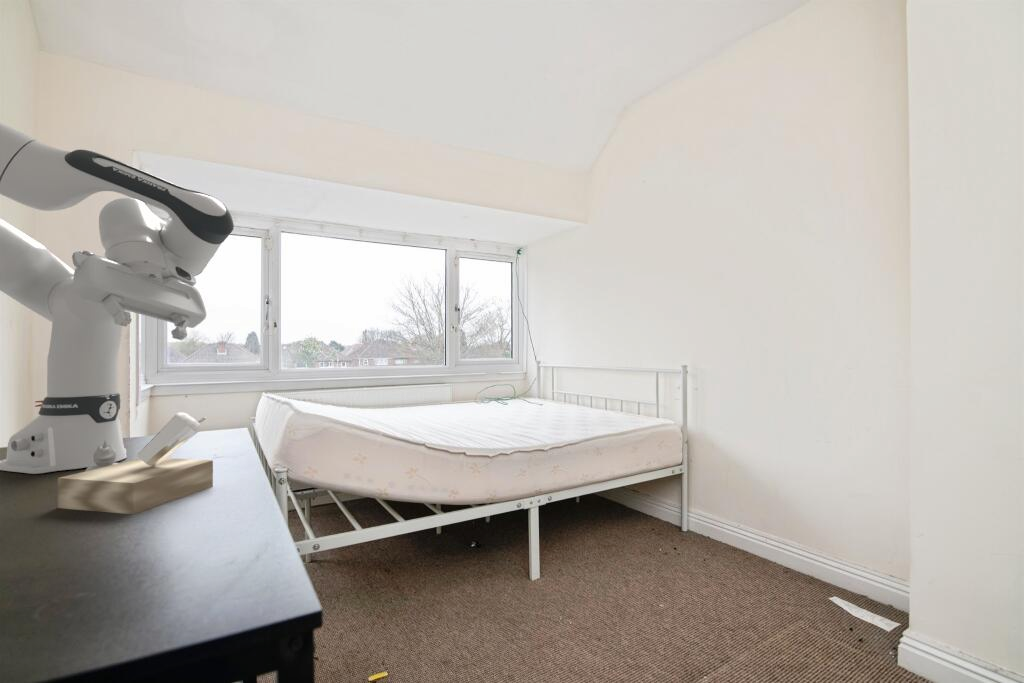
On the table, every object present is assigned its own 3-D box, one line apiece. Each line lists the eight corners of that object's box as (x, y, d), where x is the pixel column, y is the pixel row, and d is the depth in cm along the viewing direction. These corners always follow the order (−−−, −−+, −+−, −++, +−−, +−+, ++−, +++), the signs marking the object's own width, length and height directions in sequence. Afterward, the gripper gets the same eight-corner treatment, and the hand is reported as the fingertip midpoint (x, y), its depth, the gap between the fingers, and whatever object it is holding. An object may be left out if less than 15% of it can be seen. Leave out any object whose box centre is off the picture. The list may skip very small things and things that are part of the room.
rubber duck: (83, 492, 80) (83, 444, 80) (84, 483, 85) (85, 438, 85) (125, 485, 83) (125, 439, 84) (124, 478, 88) (124, 434, 89)
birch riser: (57, 511, 72) (57, 478, 72) (146, 484, 86) (146, 456, 86) (133, 517, 69) (133, 483, 69) (212, 489, 83) (212, 460, 83)
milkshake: (165, 472, 80) (214, 426, 84) (148, 467, 75) (201, 418, 79) (145, 455, 81) (196, 410, 85) (127, 449, 76) (182, 402, 80)
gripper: (84, 235, 76) (96, 301, 71) (202, 279, 95) (219, 334, 90) (58, 258, 77) (68, 325, 72) (180, 298, 96) (195, 353, 91)
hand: (153, 330), depth 81 cm, fingers open, 8 cm apart
